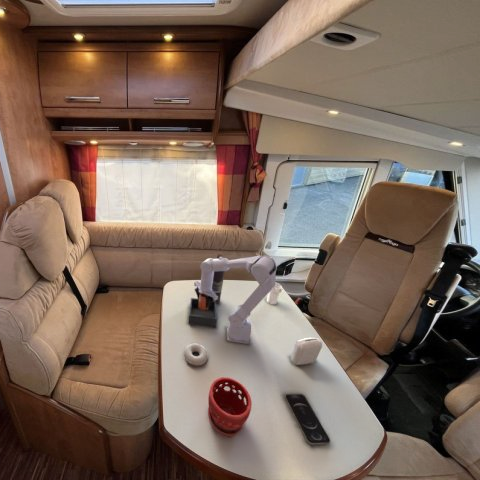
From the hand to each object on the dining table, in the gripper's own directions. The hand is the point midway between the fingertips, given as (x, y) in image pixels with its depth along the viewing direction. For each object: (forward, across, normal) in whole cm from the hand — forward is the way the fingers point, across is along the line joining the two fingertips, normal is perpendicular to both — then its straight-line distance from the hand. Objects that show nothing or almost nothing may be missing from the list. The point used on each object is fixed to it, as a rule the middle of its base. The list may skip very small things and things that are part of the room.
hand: (203, 303), depth 119 cm
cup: (+9, +13, +42) cm, 45 cm away
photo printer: (+9, +43, +18) cm, 47 cm away
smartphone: (+8, +55, -4) cm, 56 cm away
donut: (+9, +16, -19) cm, 27 cm away
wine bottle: (+9, -5, +14) cm, 17 cm away
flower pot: (+9, +39, -27) cm, 48 cm away
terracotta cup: (+2, 0, 0) cm, 2 cm away
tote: (+9, 0, 0) cm, 9 cm away
